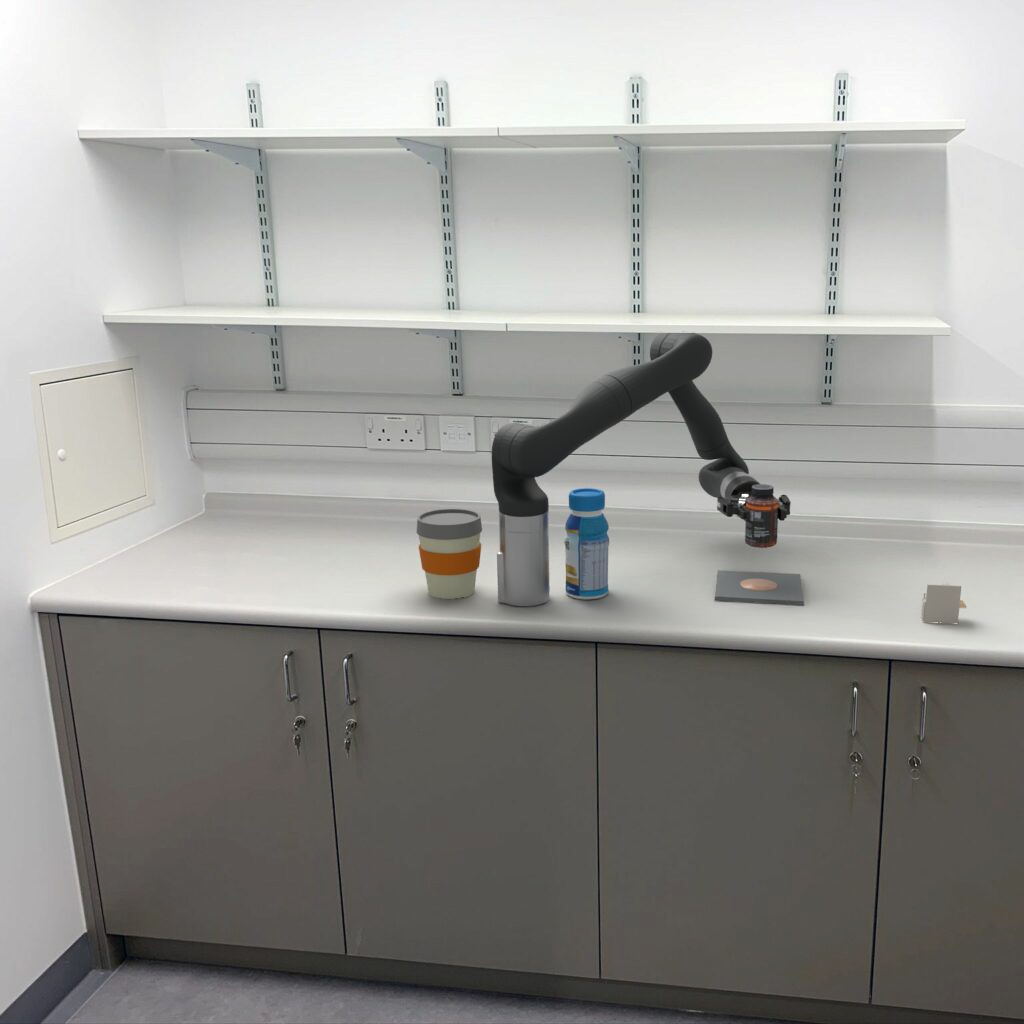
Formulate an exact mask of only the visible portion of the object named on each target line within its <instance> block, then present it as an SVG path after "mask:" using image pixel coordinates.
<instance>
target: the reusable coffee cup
mask: <svg viewBox="0 0 1024 1024" xmlns="http://www.w3.org/2000/svg"><path fill="white" fill-rule="evenodd" d="M416 519H417V521H416V534H417V535H418V539H419V544H418V552H419V559H420V563H421V564H420V565H421V568H422V569H421V570H423V571H424V574H425V579H426V585H427V591H428V592H427V593H428V595H429V596H431V597H433V598H436V599H440V598H441V599H442V600H456V599H455V598H458V599H462V598H461V597H464V598H467V597H470V596H471V594H472V595H473V594H474V593H475V592H476V589H475V588H476V581H477V572H478V569H479V567H480V563H481V553H482V543H481V533H482V531H483V527H482V519H481V513H479V512H477V511H474V510H471V509H465V508H441V509H434V510H429V511H425V512H422V513H420V514H419V515H418V516H417V518H416ZM469 595H470V596H469ZM466 596H467V597H466Z"/></svg>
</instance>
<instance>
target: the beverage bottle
mask: <svg viewBox="0 0 1024 1024" xmlns="http://www.w3.org/2000/svg"><path fill="white" fill-rule="evenodd" d="M605 508H606V494H605V492H604V490H602V489H599V488H598V489H597V488H592V487H591V488H589V487H587V488H586V487H584V488H576V489H572V490H571V491H569V492H568V509H569V510H570V511H571V513H570V514H569V515H568V517H567V518H566V519H567V520H566V522H565V525H564V526H565V527H564V529H565V531H566V535H565V536H564V543H563V544H564V547H565V549H564V550H565V551H564V552H565V553H564V554H565V593H566V594H567V596H568V597H571V598H574V599H578V600H586V601H587V600H588V601H589V600H597V599H601V598H604V597H606V596H607V595H608V593H609V547H610V537H609V535H608V531H609V529H610V528H609V522H608V520H607V518H606V516H605V514H604V512H602V511H604V510H605Z"/></svg>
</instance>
